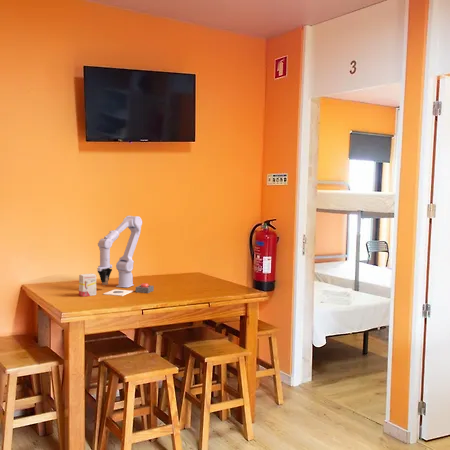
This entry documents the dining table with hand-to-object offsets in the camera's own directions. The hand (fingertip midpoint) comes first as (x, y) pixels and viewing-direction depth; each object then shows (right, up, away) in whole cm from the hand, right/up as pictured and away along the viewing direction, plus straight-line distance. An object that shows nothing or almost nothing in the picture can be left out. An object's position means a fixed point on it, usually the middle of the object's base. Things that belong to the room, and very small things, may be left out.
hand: (104, 281), depth 323 cm
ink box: (-6, -6, -17) cm, 19 cm away
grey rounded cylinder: (0, -2, 0) cm, 2 cm away
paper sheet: (+10, -6, -9) cm, 14 cm away
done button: (+24, -4, -3) cm, 25 cm away
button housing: (+24, -6, -2) cm, 25 cm away
